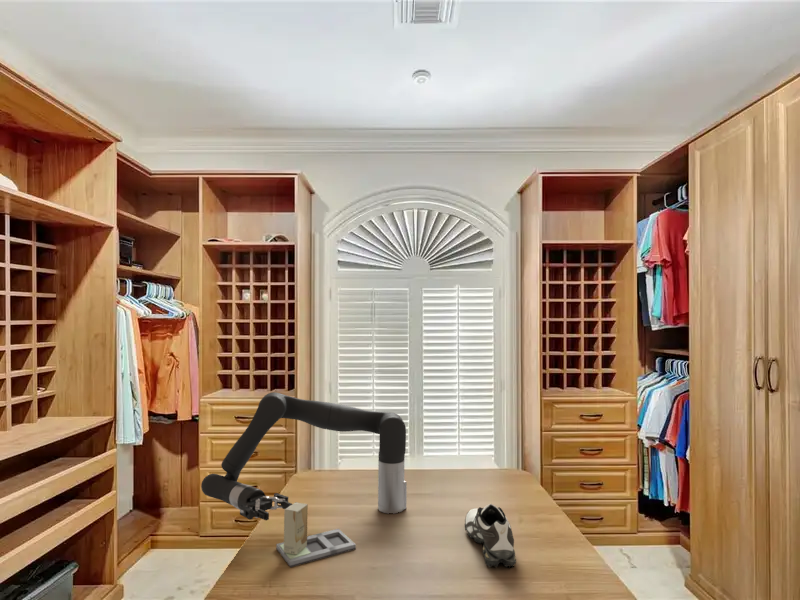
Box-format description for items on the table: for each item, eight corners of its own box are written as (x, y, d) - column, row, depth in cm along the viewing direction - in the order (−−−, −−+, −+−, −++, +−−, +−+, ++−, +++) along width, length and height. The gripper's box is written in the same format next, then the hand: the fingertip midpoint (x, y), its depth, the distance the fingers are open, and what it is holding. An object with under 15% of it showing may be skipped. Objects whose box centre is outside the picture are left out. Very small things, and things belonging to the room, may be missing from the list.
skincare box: (296, 555, 141) (296, 511, 141) (282, 552, 142) (283, 509, 142) (308, 545, 147) (308, 503, 147) (295, 542, 148) (295, 501, 148)
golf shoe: (491, 523, 167) (491, 480, 167) (530, 570, 137) (531, 518, 138) (457, 526, 165) (457, 482, 165) (490, 574, 135) (490, 521, 135)
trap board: (338, 533, 158) (338, 527, 158) (355, 549, 148) (355, 543, 148) (276, 549, 148) (276, 543, 148) (290, 567, 138) (290, 561, 138)
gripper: (227, 492, 153) (260, 506, 143) (265, 480, 164) (298, 492, 154) (226, 517, 153) (259, 533, 143) (265, 503, 164) (298, 517, 154)
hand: (279, 512), depth 149 cm, fingers open, 8 cm apart
